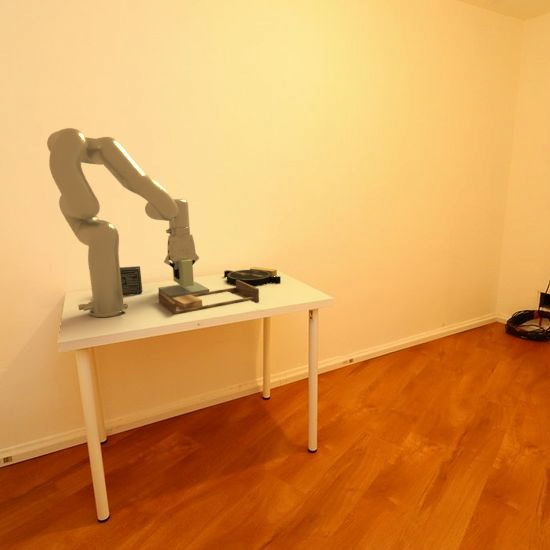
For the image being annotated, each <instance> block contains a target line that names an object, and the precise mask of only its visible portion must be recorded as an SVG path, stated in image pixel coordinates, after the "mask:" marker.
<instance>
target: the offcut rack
mask: <svg viewBox="0 0 550 550" xmlns="http://www.w3.org/2000/svg"><path fill="white" fill-rule="evenodd" d="M259 289H260V288H258V287H257V286H251V285H249V284H247V283H245V282H242V281H240V280H236V285H235V287H229V288H223V289H218V290H217V289H216V290H211V291H209V292H205V293H199V294H193V295H192V296H194V297H197V298H199V297H203V296H208V295H214V294H215V295H216V294H219V293H225V292H227V293H229V294H235V293H237V292H238V294H239V293H240V294H239V295H241V294H242V296H244V297H243V298H238V299H234V300H228V301H222V302H217V303H212V304H207V305H203V306H200V307H195V308H189V309H184V310H180V309H179V310H177V307H176V303H175V302H174V301H173V300H172V298H169V297H167V296H166V295H165V294H163V293H162V292H159V291H158V293H157V294H158V302H159V304H160V305H162V306H163V307H164V308H165V309H166V310H167V311H169V313H172V315H173V316H174V315H179V314H185V313H191V312H196V311H200V310H206V309H212V308H216V307H222V306H226V305H233V304H237V303H242V302H247V301H250V302H253V303H257V302H258V303H259V302H260V290H259Z"/></svg>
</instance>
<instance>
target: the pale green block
mask: <svg viewBox="0 0 550 550" xmlns="http://www.w3.org/2000/svg"><path fill="white" fill-rule="evenodd" d="M171 263H173V262H172V261H171ZM193 265H194V264H192V260H191V259H184V260H179V262H178V269H179V279H176V278H175V277H174V269H173V268H172V277H173V282H175V283H177V285H179V284H180V285H181V286H183V287H187V286H194V282H195V281H194V269H193V267H194V266H193Z"/></svg>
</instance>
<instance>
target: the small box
mask: <svg viewBox="0 0 550 550" xmlns="http://www.w3.org/2000/svg"><path fill="white" fill-rule="evenodd" d="M120 274H121V284H122V293H123V296H128V295H129V296H132V295H131V294H133V295H141V294H142V292H143V283H142V273H141V266H139V265H137V266H124V267H121V266H120Z"/></svg>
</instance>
